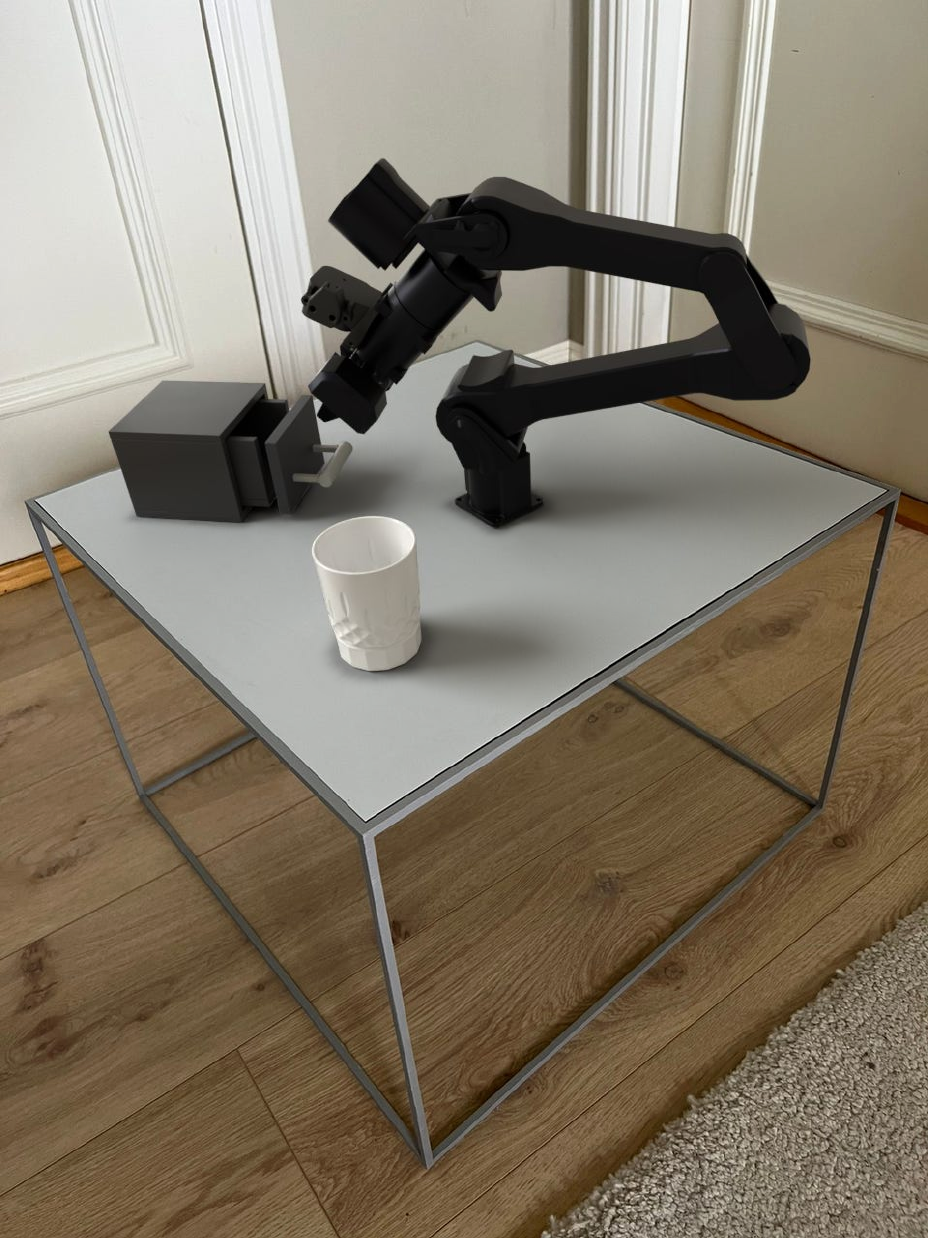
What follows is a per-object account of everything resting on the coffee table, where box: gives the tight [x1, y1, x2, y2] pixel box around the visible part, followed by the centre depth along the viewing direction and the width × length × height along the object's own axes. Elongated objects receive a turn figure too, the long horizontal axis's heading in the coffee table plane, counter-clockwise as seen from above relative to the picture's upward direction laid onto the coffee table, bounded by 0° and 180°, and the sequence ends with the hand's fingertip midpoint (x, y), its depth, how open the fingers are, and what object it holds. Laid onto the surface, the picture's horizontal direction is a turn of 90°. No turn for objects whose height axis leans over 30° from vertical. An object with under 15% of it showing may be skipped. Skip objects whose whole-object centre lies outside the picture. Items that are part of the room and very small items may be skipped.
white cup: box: [311, 515, 422, 672], centre depth 74 cm, size 8×8×10 cm
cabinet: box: [108, 379, 269, 524], centre depth 97 cm, size 12×12×10 cm
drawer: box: [225, 394, 353, 515], centre depth 95 cm, size 15×10×8 cm
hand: (321, 417), depth 91 cm, fingers closed
